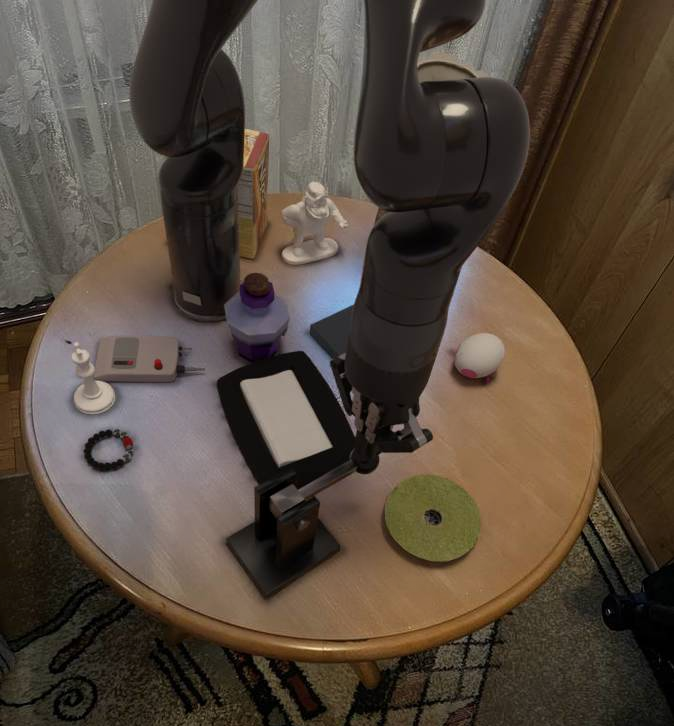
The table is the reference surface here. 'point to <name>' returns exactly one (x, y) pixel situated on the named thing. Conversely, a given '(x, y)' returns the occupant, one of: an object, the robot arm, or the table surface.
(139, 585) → the table surface
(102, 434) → the bracelet
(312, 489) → the switch lever
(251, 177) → the candy box
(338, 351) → the control box
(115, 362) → the grey electronic device
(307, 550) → the switch bracket
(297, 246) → the figurine
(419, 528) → the mat
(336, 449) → the light switch
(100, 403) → the chess piece
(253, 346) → the potion bottle
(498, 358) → the stress ball
